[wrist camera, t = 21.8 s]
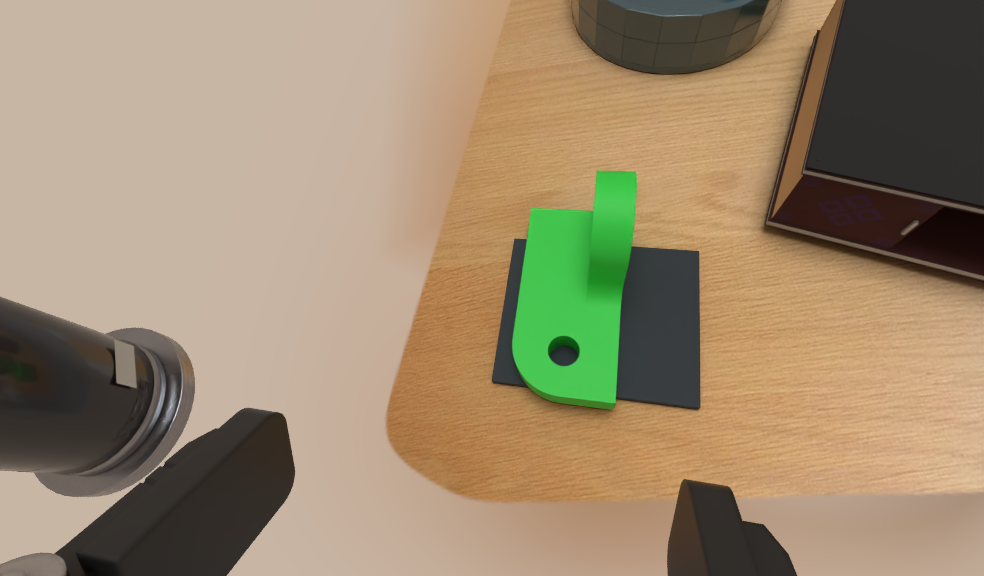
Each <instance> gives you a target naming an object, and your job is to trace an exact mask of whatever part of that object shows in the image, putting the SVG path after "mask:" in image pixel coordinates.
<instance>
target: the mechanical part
mask: <svg viewBox="0 0 984 576" xmlns="http://www.w3.org/2000/svg"><path fill="white" fill-rule="evenodd" d="M636 192H637V177H636V172H624V171H597V177H596V188H595V200H594V211H581V210H561V209H541V208H531V215H530V222H529V229H528V236H527V243H526V250H525V257H524V264H523V271H522V277H521V284H520V291H519V298H518V305H517V312H516V319H515V326H514V333H513V341H512V350H513V356H514V360H515V363H516V365H517V368H518V371H519V373H520V375H521V377H522V379H523V380H524V382H525V383H526V385H527V386H528V387H529V388H530V389H531V390H532V391H533V392H535V393H536V394H537V395H539V396H540V397H542V398H544V399H547V400H549V401H552V402H557V403H563V404H571V405H578V406H586V407H594V408H601V409H609V410H613V408H614V406H615V404H616V385H617V367H618V348H619V330H620V311H621V299H622V290H623V285H624V281H625V277H626V273H627V269H628V265H629V259H630V253H631V247H632V239H633V230H634V220H635V209H636ZM559 346H569V347H571V348H573V349H574V350H575V351H576V352H577V354H578V356H579V357H578V359H577V361H576V362H575V363H573V364H572V365H569V366H559V365H557V364H555V363H554V362H552V361H551V359H550V358H549V357H550V354H551V352H552V351H553V350H554V349H555V348H557V347H559Z"/></svg>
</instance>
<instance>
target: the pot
mask: <svg viewBox="0 0 984 576" xmlns="http://www.w3.org/2000/svg"><path fill="white" fill-rule="evenodd" d="M781 2H782V0H572V11H573V18H574V23H575V26H576V28H577V31H578V33H579V34H580V36H581V38H582V39H583V40H584V41H585V43H586V44H587V45H588V46H589V47H590V48H591V49H592V50H594V51H595V52H596V53H597V54H599V55H600V56H602V57H603V58H605V59H607V60H609V61H611V62H613V63H615V64H617V65H620V66H623V67H626V68H629V69H633V70H637V71H641V72H648V73H656V74H681V73H690V72H697V71H701V70H706V69H710V68H713V67H716V66H719V65H722V64H725V63H727V62H729V61H731V60H733V59H735V58H737V57H739V56H741V55H742V54H744V53H745V52H747V51H748V50H750V49H751V48H752V47H753V46H754V45H756V44H757V43H758V42H759V41H760V40H761V39H762V38H763V36H764V35H765V34H766V32H767V31H768V29H769V28H770V26H771V25H772V23H773V21H774V18H775V16H776V14H777V11H778V9H779V7H780V4H781Z"/></svg>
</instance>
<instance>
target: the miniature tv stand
mask: <svg viewBox="0 0 984 576" xmlns="http://www.w3.org/2000/svg"><path fill="white" fill-rule="evenodd" d="M765 225H766V226H770V227H774V228H778V229H782V230H786V231H790V232H793V233H797V234H801V235H805V236H809V237H813V238H817V239H821V240H824V241H828V242H832V243H836V244H840V245H844V246H848V247H852V248H856V249H859V250H863V251H867V252H871V253H875V254H879V255H883V256H887V257H890V258H894V259H898V260H902V261H906V262H910V263H914V264H918V265H922V266H925V267H929V268H933V269H937V270H941V271H945V272H949V273H953V274H956V275H960V276H964V277H968V278H972V279H976V280H980V281H984V0H836V2H835V4H834V6H833V8H832V9H831V11H830V13H829V15H828V17H827V19H826V21H825V22H824V24H823V26H822V28H821V30H817V34H816V35H815V36H814V39H813V43H812V47H811V51H810V54H809V58H808V62H807V66H806V70H805V73H804V77H803V81H802V85H801V89H800V92H799V96H798V100H797V104H796V108H795V111H794V115H793V119H792V123H791V127H790V130H789V134H788V138H787V142H786V145H785V149H784V153H783V157H782V161H781V164H780V168H779V172H778V176H777V180H776V183H775V187H774V191H773V195H772V199H771V202H770V206H769V210H768V214H767V218H766V221H765Z"/></svg>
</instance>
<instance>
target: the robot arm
mask: <svg viewBox="0 0 984 576" xmlns="http://www.w3.org/2000/svg"><path fill="white" fill-rule="evenodd" d="M165 390H166V380H165V373H164V369H163V366H162V364H161V362H160V360H159V359H158V357H157V356H156V355H155V354H154V353H153V352H152V351H151V350H149V349H148V348H146V347H144V346H141V345H139V344H136V343H133V342H130V341H126V340H120V339H117V338H114V337H112V336H109V335H106V334H103V333H100V332H98V331H95V330H93V329H90V328H87V327H84V326H81V325H78V324H76V323H73V322H70V321H67V320H64V319H62V318H59V317H56V316H53V315H50V314H47V313H45V312H42V311H39V310H36V309H33V308H30V307H28V306H25V305H22V304H19V303H16V302H13V301H11V300H8V299H5V298H2V297H0V470H2V471H3V470H4V471H18V472H37V473H55V474H59V475H65V476H89V475H94V474H98V473H101V472H104V471H106V470H108V469H110V468H112V467H114V466H116V465H117V464H119V463H120V462H122V461H123V460H124V459H126V458H127V457H128V456H129V455H131V454H132V453H133V452H134V451H135V450H136V449H137V448H138V447H139V446H140V445H141V443H142V442H143V441H144V440H145V438H146V437H147V436H148V434H149V433H150V431H151V430H152V428H153V426H154V425H155V423H156V421H157V419H158V416H159V414H160V411H161V409H162V405H163V402H164V397H165ZM294 477H295V467H294V462H293V456H292V450H291V445H290V439H289V434H288V428H287V422H286V419H285V417H284V416H283V414H281V413H278V412H271V411H265V410H259V409H252V408H244V409H242V410H240V411H239V412H238V413H236V414H235V415H234V416H233V417H232V418H230V419H229V420H228V421H227V422H226V423H225V424H223V425H222V426H221V427H220V428H219V429H214V430H212V431H210V432H208V433H206V434H204V435H202V436H200V437H199V438H197V439H195V440H193V441H191V442H189V443H187V444H186V445H185V446H184V447H183V448H181V449H180V450H179V451H178V452H177V453H175V454H174V455H173V456H172V457H171V458H169V459H168V460H167V461H166V462H165V464H164V466H163V467H161V466H160V467H159V468H157V469H156V470H155V471H154V472H153V473H151V474H150V475H149V476H148V477H147V478H146V479H145V482H144V483H139V484H138V485H137V486H136V487H135V488H133V489H132V490H131V491H130V492H129V493H127V494H126V495H125V496H124V497H123V498H121V499H120V500H119V501H118V502H117V503H115V504H114V505H113V506H112V507H111V508H109V509H108V510H107V511H106V512H105V513H103V514H102V515H101V516H100V517H99V518H97V519H96V520H95V521H94V522H93V523H91V524H90V525H89V526H88V527H87V528H85V529H84V530H83V531H82V532H81V533H79V534H78V535H77V536H76V537H75V538H73V539H72V540H71V541H70V542H69V543H67V544H66V545H65V546H64V547H62V548H61V549H60V550H59V551H57V552H56V553H55V554H52V553H36V554H30V555H26V556H22V557H19V558H16V559H13V560H10V561H8V562H5V563H3V564H1V565H0V576H227V574H228V573H229V572H230V570H231V569H232V568H233V567H234V565H235V564H236V563H237V561H238V560H239V559H240V558H241V556H242V555H243V554H244V552H245V551H246V550H247V549H248V548H249V546H250V545H251V544H252V542H253V541H254V540H255V539H256V537H257V536H258V535H259V534H260V532H261V531H262V530H263V528H264V527H265V526H266V525H267V523H268V522H269V521H270V520H271V518H272V517H273V516H274V514H275V513H276V512H277V511H278V509H279V508H280V507H281V506H282V504H283V503H284V502H285V500H286V499H287V497H288V495H289V493H290V491H291V489H292V486H293V483H294ZM667 565H668V566H667V567H668V576H797V575H796V572H795V569H794V567H793V564H792V562H791V560H790V557H789V555H788V553H787V552H786V551H785V550H784V548H783V547H782V546H781V545H780V544H779V542H778V541H777V540H776V539H775V538H774V536H773V535H772V534H771V533H770V532H769V530H768V529H767V528H766V527H765V526H764V525H763V524H757V523H752V522H746V521H742V519H741V515H740V512H739V510H738V506H737V504H736V500H735V497H734V495H733V492H732V490H731V489H730V487H728V486H723V485H717V484H711V483H705V482H698V481H692V480H686V479H684V480H683V481H682V483H681V486H680V490H679V495H678V500H677V504H676V509H675V514H674V519H673V523H672V528H671V532H670V537H669V544H668V555H667Z"/></svg>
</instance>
